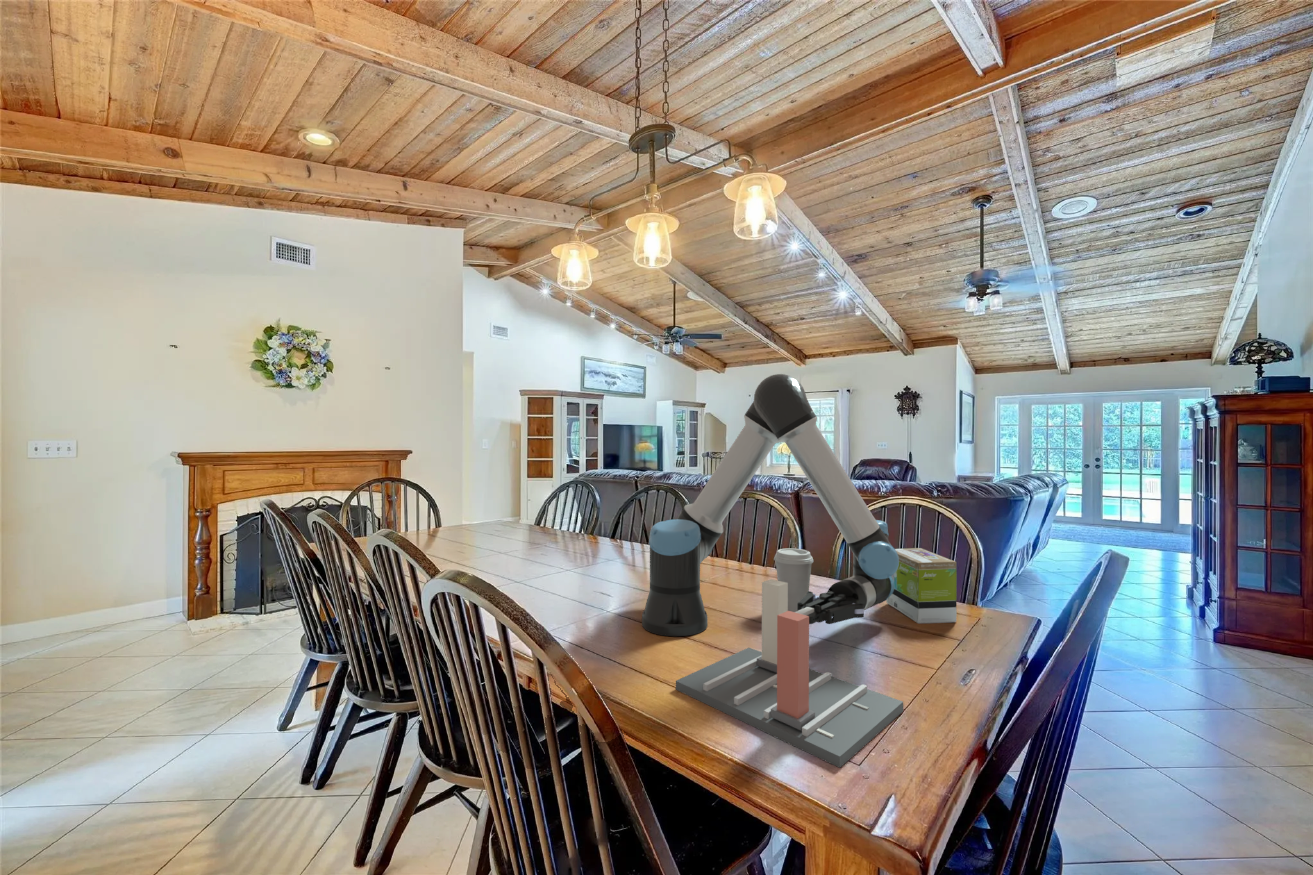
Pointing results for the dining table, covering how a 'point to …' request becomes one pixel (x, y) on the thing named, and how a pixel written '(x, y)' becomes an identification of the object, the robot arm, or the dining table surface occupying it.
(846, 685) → the console
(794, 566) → the coffee cup
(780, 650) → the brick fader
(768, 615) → the cream fader
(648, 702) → the dining table surface
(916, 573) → the tea box
